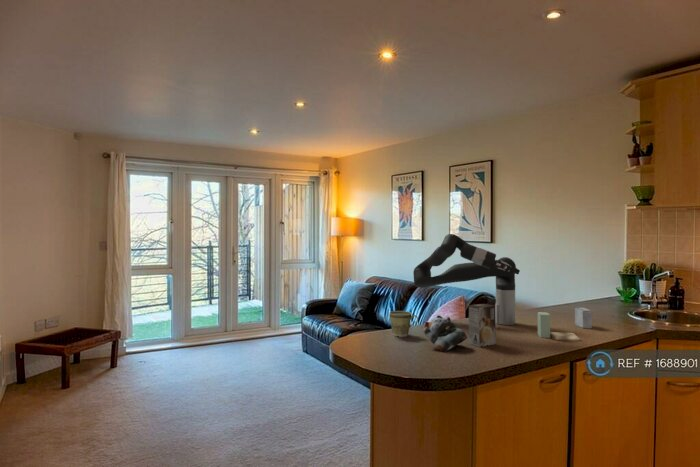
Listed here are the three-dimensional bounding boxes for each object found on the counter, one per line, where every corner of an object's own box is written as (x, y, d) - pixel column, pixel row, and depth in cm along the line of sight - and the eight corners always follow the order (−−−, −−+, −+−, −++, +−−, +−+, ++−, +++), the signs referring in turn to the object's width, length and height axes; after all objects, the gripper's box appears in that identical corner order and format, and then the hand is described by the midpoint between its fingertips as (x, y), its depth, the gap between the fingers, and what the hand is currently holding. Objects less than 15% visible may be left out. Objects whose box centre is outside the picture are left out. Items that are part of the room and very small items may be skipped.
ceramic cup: (386, 336, 191) (386, 314, 191) (392, 331, 200) (392, 310, 200) (415, 339, 186) (415, 316, 186) (420, 334, 196) (420, 312, 195)
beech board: (553, 339, 186) (553, 337, 186) (546, 333, 197) (546, 330, 197) (581, 340, 183) (581, 338, 183) (572, 334, 195) (572, 332, 195)
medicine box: (592, 328, 207) (592, 310, 207) (582, 328, 207) (582, 310, 207) (583, 325, 215) (583, 307, 215) (574, 324, 215) (574, 307, 215)
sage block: (540, 337, 190) (540, 314, 190) (537, 334, 196) (537, 312, 195) (550, 337, 189) (550, 315, 189) (547, 334, 195) (547, 312, 195)
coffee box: (484, 341, 184) (484, 303, 183) (496, 344, 178) (496, 305, 178) (468, 343, 179) (468, 304, 179) (479, 347, 174) (479, 307, 174)
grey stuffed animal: (442, 353, 164) (426, 319, 168) (430, 357, 175) (414, 325, 179) (473, 338, 170) (457, 306, 173) (459, 343, 180) (444, 312, 184)
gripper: (480, 264, 208) (513, 278, 203) (480, 266, 194) (516, 280, 190) (486, 250, 207) (519, 263, 203) (487, 250, 193) (523, 265, 189)
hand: (518, 271), depth 196 cm, fingers open, 8 cm apart
